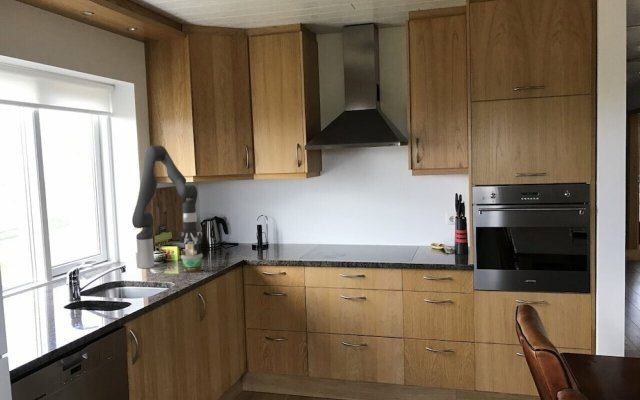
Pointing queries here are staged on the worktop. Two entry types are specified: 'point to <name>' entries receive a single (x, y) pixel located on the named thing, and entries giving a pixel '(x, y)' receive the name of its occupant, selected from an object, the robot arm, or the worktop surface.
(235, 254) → the worktop surface
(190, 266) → the food container
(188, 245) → the birch block
